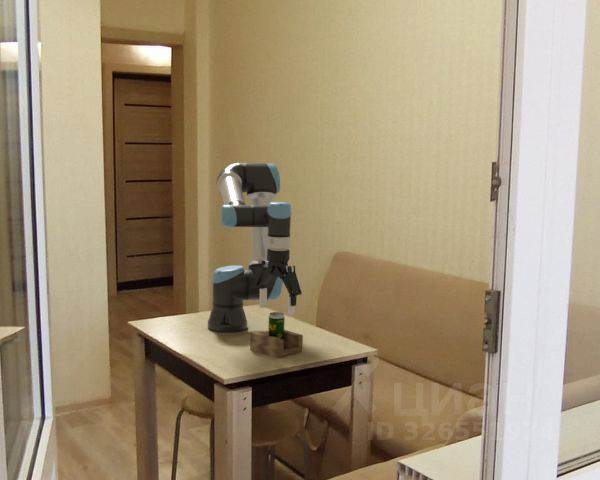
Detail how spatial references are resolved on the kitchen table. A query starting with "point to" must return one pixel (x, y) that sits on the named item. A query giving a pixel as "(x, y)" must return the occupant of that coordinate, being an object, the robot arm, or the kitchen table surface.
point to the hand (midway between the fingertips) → (276, 311)
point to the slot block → (276, 344)
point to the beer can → (276, 325)
